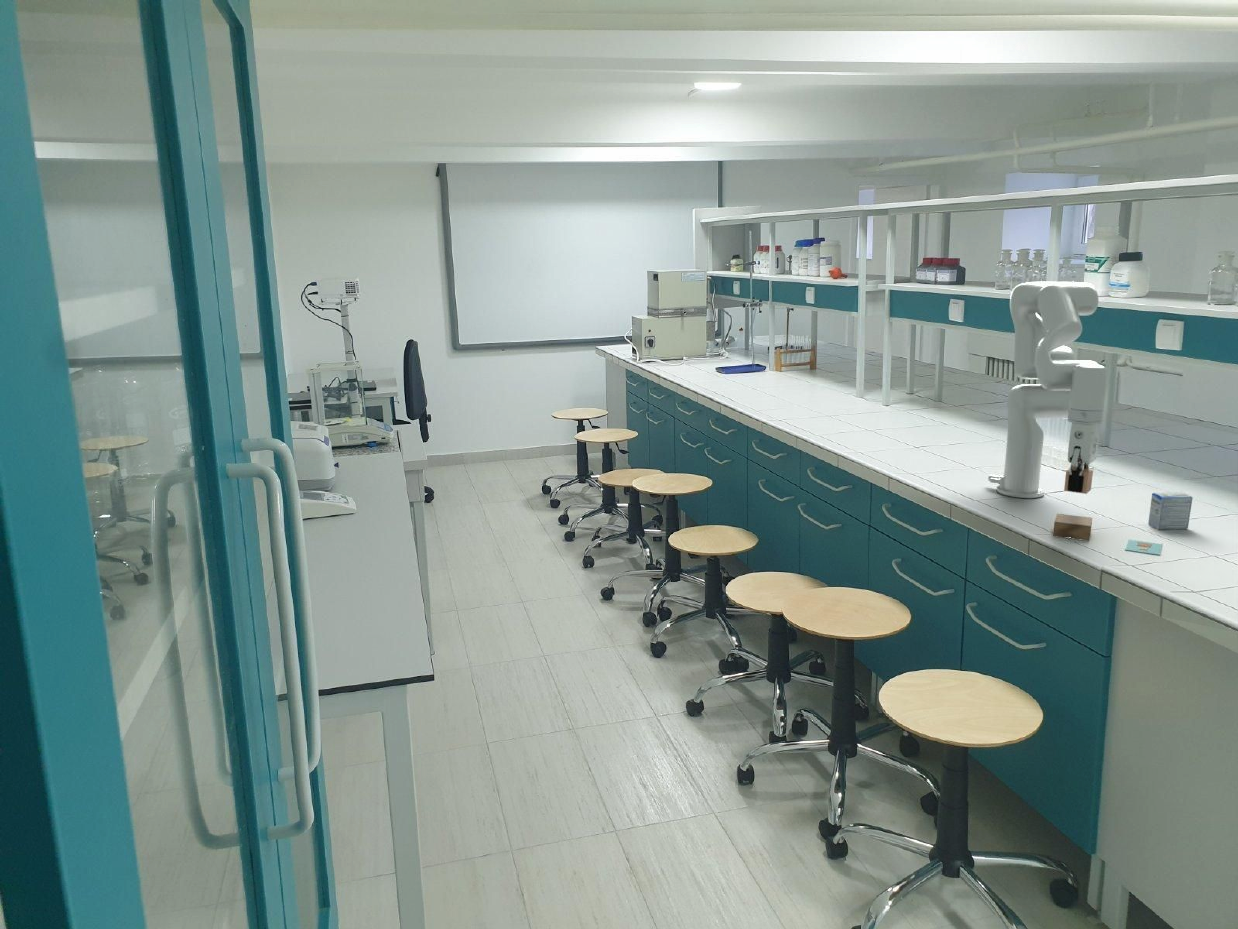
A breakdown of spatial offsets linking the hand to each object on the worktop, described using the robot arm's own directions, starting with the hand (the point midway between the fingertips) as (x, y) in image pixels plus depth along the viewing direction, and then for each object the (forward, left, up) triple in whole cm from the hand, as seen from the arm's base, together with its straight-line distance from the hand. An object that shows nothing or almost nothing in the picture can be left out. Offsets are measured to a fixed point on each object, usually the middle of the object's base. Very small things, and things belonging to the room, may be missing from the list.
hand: (1077, 488), depth 225 cm
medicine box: (+18, +21, -12) cm, 30 cm away
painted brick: (0, 0, -1) cm, 1 cm away
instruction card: (+16, -1, -12) cm, 20 cm away
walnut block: (0, 0, -12) cm, 12 cm away
